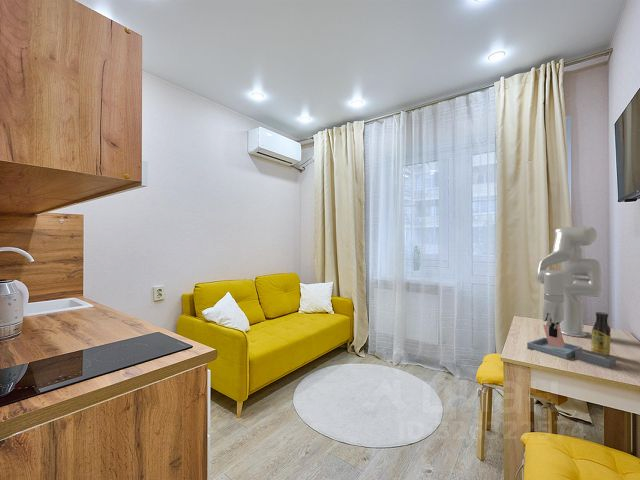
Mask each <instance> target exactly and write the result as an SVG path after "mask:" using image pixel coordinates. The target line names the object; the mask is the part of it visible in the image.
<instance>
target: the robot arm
mask: <svg viewBox="0 0 640 480" xmlns="http://www.w3.org/2000/svg"><path fill="white" fill-rule="evenodd" d="M597 236H598V235H597V230H596V229H595V227H592V226H570V227H568V226H566V227H559V228H556V229H555V230H554V242H553V247H552V252H550V253H549V254H548V255H546V256H544V258H543V259H541V261H540V262H539V263H538V266H537V270H536V281H537V283H538V284H541V285H543V289H544V291H543V301H544V303H543V306H542V307H543V308H542V309H543V310H542V321H543V322H546V324H547V325H548V327H549V336H552V337H556V338H557V329H556V324H559V327H560V330H561V333H562V335H565V336H570V337H577V338H583V337H584V338H585V337H586V336H587V333H586V332H585V331H583V330H584V327H585V326H584V325H583V324H584V321H583V320H584V318H583V317H584V307H583V306H584V304H583V301H582V300H581V299H580V298H579V297H578V296H583V297H591V298H592V297H593V298H596V297H598V296H600V294H601V288H602V287H601V286H602V282H601V281H602V280H601V276H602V274H601V273H602V271H601V270H602V269H601V263H600V261H598V259H594V258H583V250H582V248H581V247H580V246H582V247H587V246H588V247H589V246H590V245H592V244H593V243H594V242H595V241H596V239H597ZM560 263H561V270H557V269H556V270H555V269H548V268H549V267H551V266H554V265H556V264H560ZM575 276H584V277H588V278H583V277H575Z"/></svg>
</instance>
